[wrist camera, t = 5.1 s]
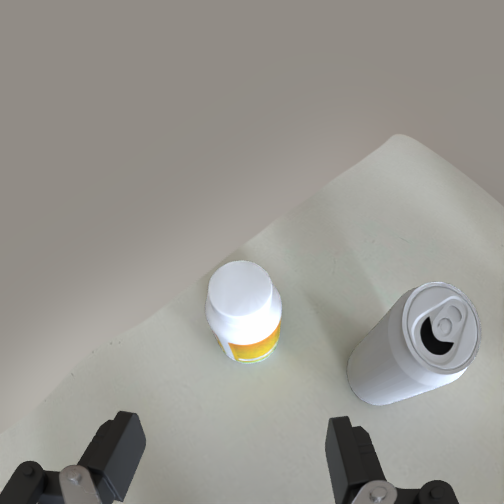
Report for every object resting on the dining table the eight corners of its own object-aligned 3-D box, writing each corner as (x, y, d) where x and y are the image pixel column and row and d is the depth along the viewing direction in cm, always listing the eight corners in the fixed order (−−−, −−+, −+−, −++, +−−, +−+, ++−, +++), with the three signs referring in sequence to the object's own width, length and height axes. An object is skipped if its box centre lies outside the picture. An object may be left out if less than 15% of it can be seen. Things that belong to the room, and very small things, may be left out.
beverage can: (330, 370, 24) (373, 323, 14) (378, 325, 26) (435, 256, 16) (376, 420, 22) (449, 405, 12) (421, 370, 24) (500, 324, 13)
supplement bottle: (290, 326, 27) (300, 274, 19) (257, 376, 25) (252, 346, 16) (241, 297, 29) (230, 237, 21) (207, 343, 26) (178, 298, 18)
